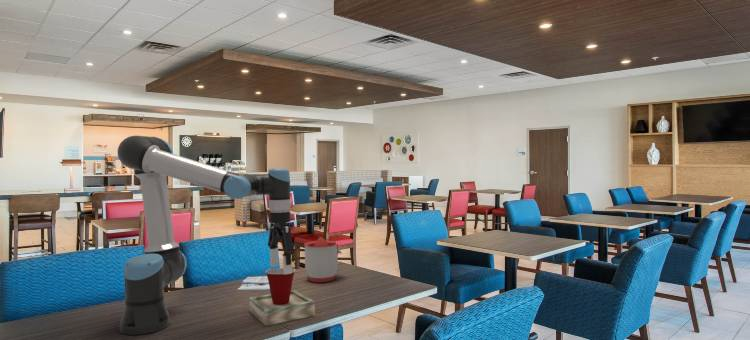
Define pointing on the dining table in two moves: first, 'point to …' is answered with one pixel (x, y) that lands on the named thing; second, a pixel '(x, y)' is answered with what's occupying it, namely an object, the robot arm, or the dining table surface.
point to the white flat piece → (255, 283)
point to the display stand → (281, 308)
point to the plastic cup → (280, 285)
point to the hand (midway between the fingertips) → (280, 270)
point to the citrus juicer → (321, 260)
